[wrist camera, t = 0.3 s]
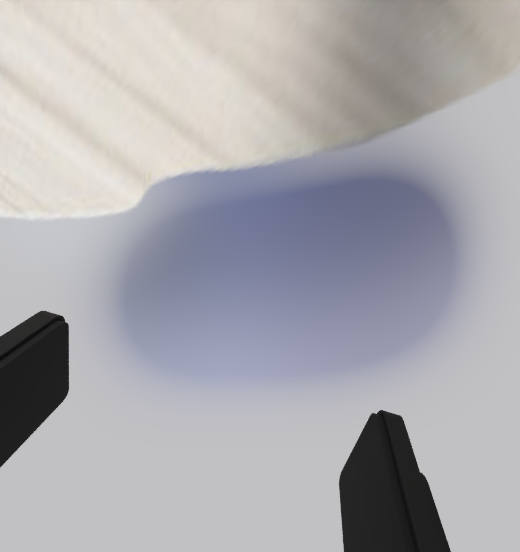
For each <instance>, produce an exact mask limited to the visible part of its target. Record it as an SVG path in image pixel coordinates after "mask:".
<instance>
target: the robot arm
mask: <svg viewBox="0 0 520 552" xmlns="http://www.w3.org/2000/svg"><path fill="white" fill-rule="evenodd" d="M68 329H69V326H68V323H66V322H65V319H64V317H63V316H60V315H57V314H53V313H50V312H47V311H40V312H39V313H37V314H35V315H34V316H32V317H30V318H29V319H27V320H26V321H24V322H23V323H21V324H20V325H18V326H16V327H15V328H13V329H12V330H10V331H9V332H7V333H6V334H4V335H2V336H1V337H0V467H1V466H2V465H3V464H4V463H5V462H6V461H7V460H8V459H9V458H10V457H11V455H12V454H13V453H14V452H15V451H16V450H17V449H18V448H19V447H20V446H21V445H22V444H23V443H24V442H25V441H26V440H27V439H28V437H30V435H31V434H32V433H33V432H34V431H35V430H36V429H37V428H38V427H39V426H40V425H41V424H42V423H43V422H44V421H45V420H46V418H47V417H48V416H49V415H50V414H51V413H52V412H53V411H54V410H55V409H56V408H57V407H58V406H59V405H60V404H61V403H62V402H63V400H64V399H65V398H66V396H67V393H68V390H69V330H68ZM339 489H340V503H341V517H342V530H343V544H344V552H451V551H450V548H449V545H448V542H447V539H446V536H445V533H444V530H443V527H442V524H441V521H440V518H439V515H438V512H437V509H436V506H435V503H434V500H433V497H432V493H431V490H430V487H429V485H428V482H427V480H426V478H425V476H424V475H423V474H422V473H420V472H419V468H418V465H417V462H416V458H415V455H414V452H413V449H412V446H411V443H410V439H409V436H408V433H407V430H406V427H405V424H404V421H403V419H402V417H401V416H400V415H396V414H392V413H389V412H386V411H383V410H380V411H379V412H378V413H377V414H374V413H372V414H371V416H370V417H369V419H368V421H367V423H366V425H365V427H364V429H363V431H362V433H361V435H360V437H359V439H358V441H357V443H356V445H355V447H354V449H353V450H352V452H351V454H350V456H349V458H348V460H347V462H346V464H345V466H344V468H343V470H342V472H341V475H340V480H339Z"/></svg>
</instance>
